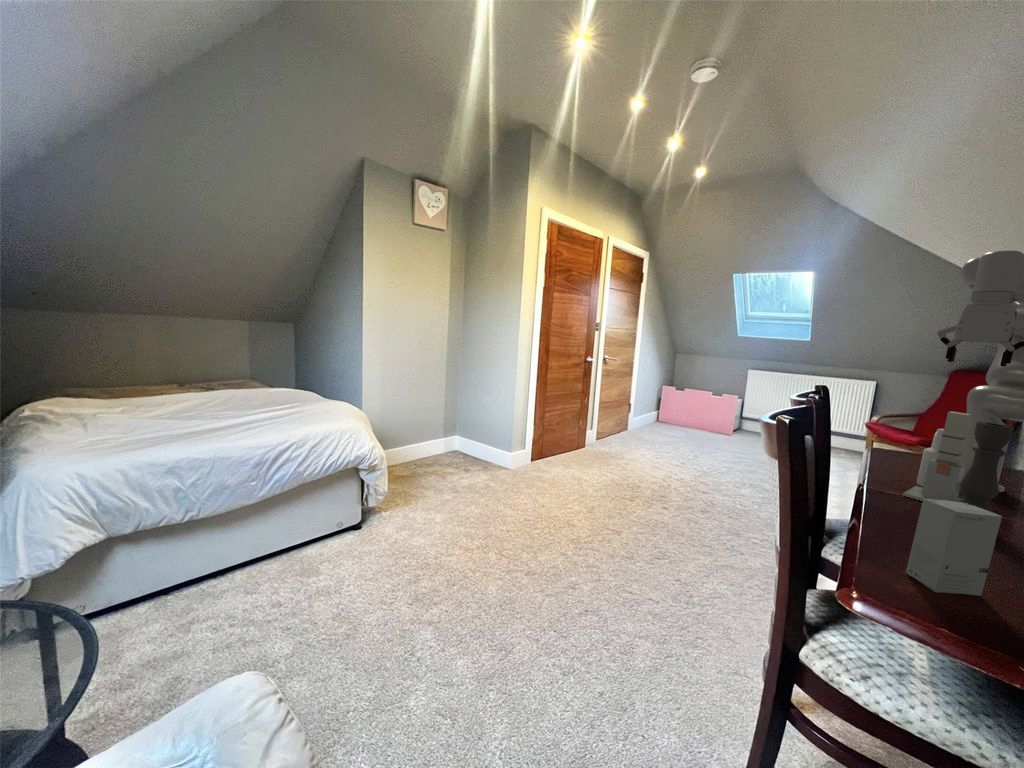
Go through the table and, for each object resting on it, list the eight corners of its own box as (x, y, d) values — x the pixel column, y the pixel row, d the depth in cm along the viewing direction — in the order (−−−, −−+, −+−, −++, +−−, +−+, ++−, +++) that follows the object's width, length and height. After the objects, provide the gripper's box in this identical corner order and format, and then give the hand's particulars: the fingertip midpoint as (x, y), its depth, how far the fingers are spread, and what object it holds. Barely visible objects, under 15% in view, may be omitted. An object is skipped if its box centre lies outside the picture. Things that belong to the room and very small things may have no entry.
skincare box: (935, 593, 70) (955, 512, 68) (902, 572, 76) (920, 497, 74) (984, 597, 70) (1006, 515, 68) (947, 575, 76) (966, 500, 74)
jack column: (936, 471, 115) (950, 411, 112) (955, 476, 112) (971, 414, 109) (932, 473, 113) (947, 412, 110) (952, 478, 110) (968, 415, 107)
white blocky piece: (915, 489, 122) (923, 451, 120) (974, 505, 112) (985, 464, 110) (902, 496, 115) (911, 456, 113) (964, 514, 105) (975, 470, 103)
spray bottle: (946, 493, 120) (961, 434, 117) (914, 485, 125) (927, 428, 122) (948, 488, 124) (962, 431, 121) (917, 481, 129) (930, 425, 126)
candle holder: (997, 532, 96) (1024, 429, 92) (970, 530, 96) (996, 427, 92) (968, 519, 102) (993, 422, 98) (943, 517, 102) (967, 420, 98)
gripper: (1045, 301, 103) (1028, 368, 106) (948, 301, 118) (935, 360, 120) (1042, 298, 99) (1024, 368, 102) (941, 298, 113) (928, 360, 116)
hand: (975, 363), depth 111 cm, fingers open, 9 cm apart
